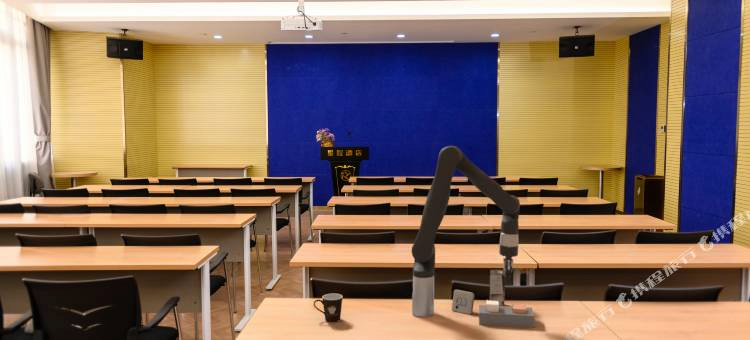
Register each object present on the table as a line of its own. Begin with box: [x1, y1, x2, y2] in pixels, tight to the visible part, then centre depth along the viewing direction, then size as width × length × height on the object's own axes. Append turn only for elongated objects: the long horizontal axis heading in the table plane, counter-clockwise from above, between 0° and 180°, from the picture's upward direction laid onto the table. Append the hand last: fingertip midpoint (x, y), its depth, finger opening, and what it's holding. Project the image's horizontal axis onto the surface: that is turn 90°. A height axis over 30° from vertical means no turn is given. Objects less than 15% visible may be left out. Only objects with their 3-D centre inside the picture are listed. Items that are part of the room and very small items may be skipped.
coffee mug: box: [313, 293, 343, 323], centre depth 241 cm, size 12×9×10 cm
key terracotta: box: [512, 304, 526, 314], centre depth 235 cm, size 5×5×5 cm
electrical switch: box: [451, 289, 475, 315], centre depth 250 cm, size 9×5×9 cm, turn 54°
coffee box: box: [489, 269, 506, 306], centre depth 254 cm, size 9×6×16 cm
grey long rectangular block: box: [478, 304, 535, 329], centre depth 236 cm, size 22×10×5 cm, turn 80°
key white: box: [485, 299, 499, 312], centre depth 237 cm, size 5×5×5 cm
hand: (507, 284), depth 235 cm, fingers closed
